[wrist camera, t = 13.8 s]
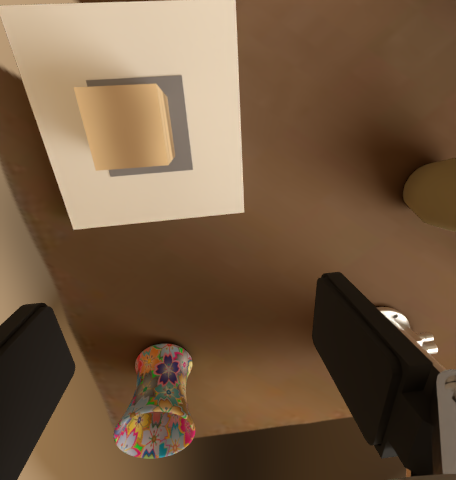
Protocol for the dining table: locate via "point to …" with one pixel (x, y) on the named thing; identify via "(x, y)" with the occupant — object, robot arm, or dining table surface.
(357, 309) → the robot arm
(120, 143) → the maple block
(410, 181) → the squeeze bottle
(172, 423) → the mug
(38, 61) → the base board
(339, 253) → the dining table surface
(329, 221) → the dining table surface
